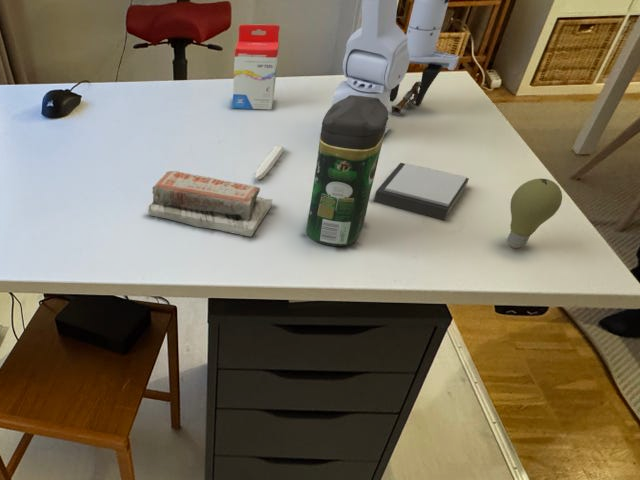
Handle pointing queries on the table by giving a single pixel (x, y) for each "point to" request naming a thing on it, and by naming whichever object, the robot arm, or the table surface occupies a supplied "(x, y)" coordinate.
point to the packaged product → (209, 203)
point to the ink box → (255, 67)
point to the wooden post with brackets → (399, 106)
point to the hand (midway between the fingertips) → (405, 102)
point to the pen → (269, 161)
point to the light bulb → (532, 209)
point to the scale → (421, 190)
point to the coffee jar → (346, 169)
